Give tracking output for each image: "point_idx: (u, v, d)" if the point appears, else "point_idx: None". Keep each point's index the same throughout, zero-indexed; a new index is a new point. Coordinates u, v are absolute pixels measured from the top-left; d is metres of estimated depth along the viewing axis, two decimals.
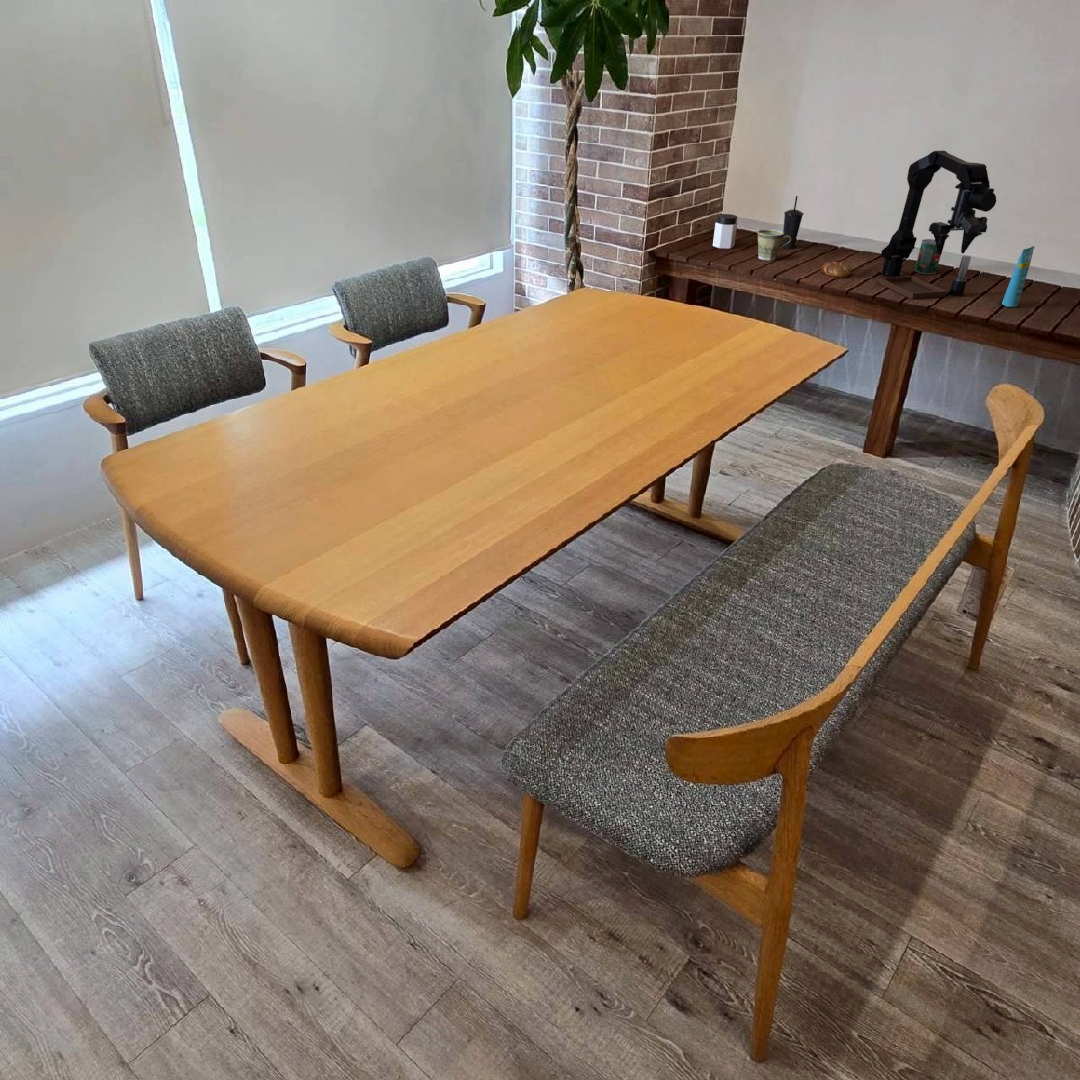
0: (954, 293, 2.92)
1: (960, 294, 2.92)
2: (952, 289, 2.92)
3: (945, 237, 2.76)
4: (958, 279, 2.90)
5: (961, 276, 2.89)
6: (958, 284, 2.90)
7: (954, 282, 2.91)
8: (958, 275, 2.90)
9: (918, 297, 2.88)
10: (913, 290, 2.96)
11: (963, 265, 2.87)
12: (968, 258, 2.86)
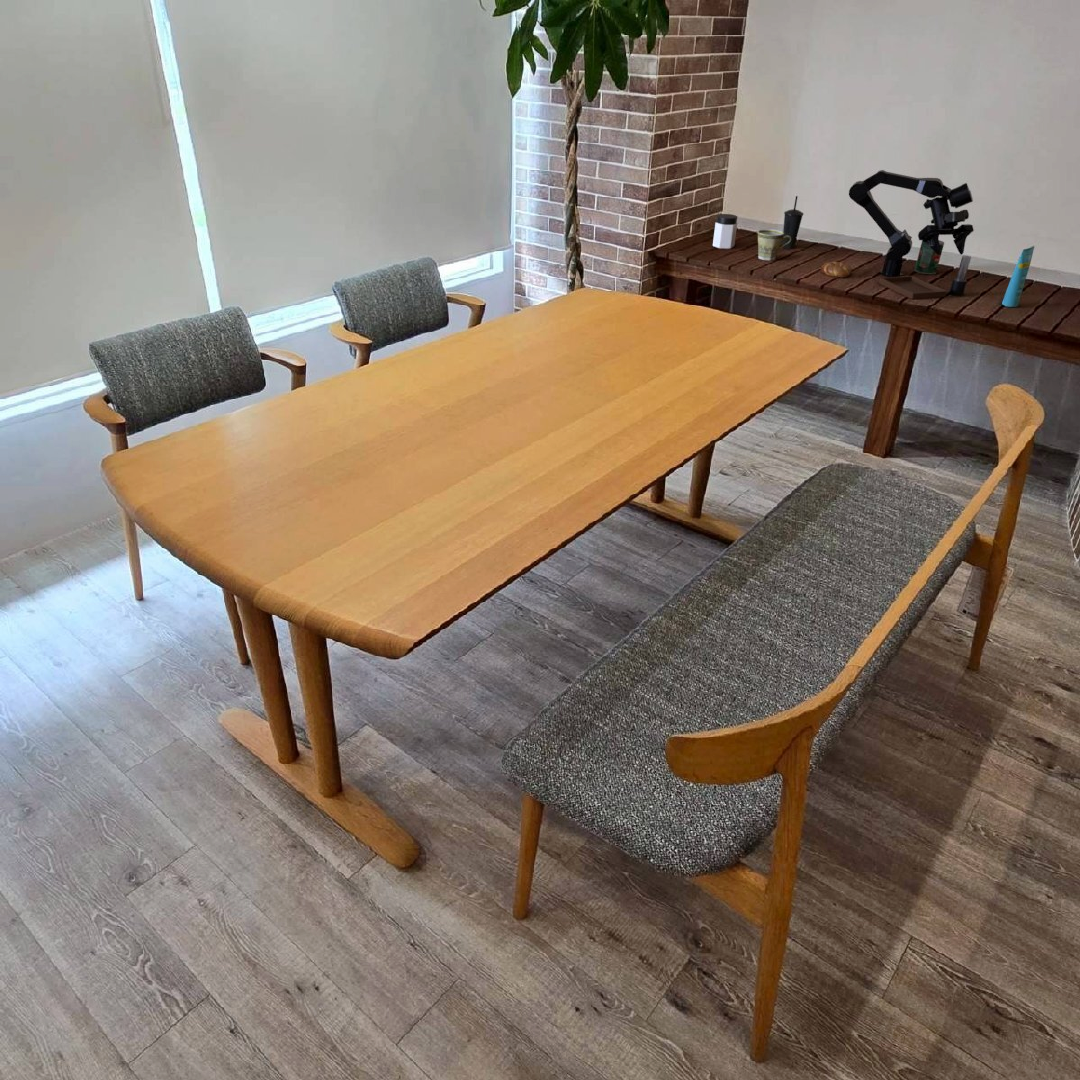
0: (954, 293, 2.92)
1: (960, 294, 2.92)
2: (952, 289, 2.92)
3: (936, 234, 2.90)
4: (958, 279, 2.90)
5: (961, 276, 2.89)
6: (958, 284, 2.90)
7: (954, 282, 2.91)
8: (958, 275, 2.90)
9: (918, 297, 2.88)
10: (913, 290, 2.96)
11: (963, 265, 2.87)
12: (968, 258, 2.86)
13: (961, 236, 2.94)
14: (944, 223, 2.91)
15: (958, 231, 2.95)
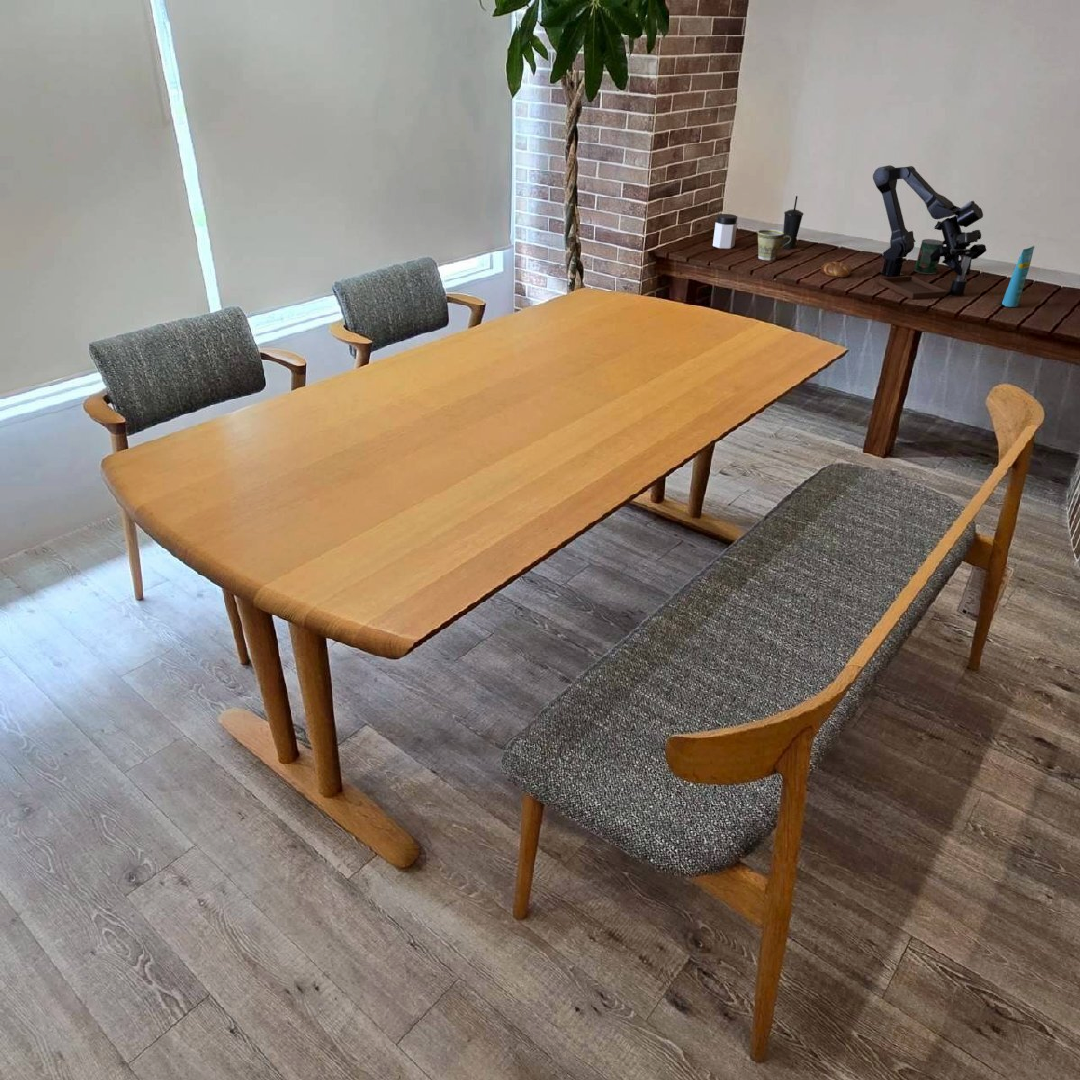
0: (954, 293, 2.92)
1: (960, 294, 2.92)
2: (952, 289, 2.92)
3: (957, 255, 2.87)
4: (958, 279, 2.90)
5: (961, 276, 2.89)
6: (958, 284, 2.90)
7: (954, 282, 2.91)
8: (958, 275, 2.90)
9: (918, 297, 2.88)
10: (913, 290, 2.96)
11: (963, 265, 2.87)
12: (968, 258, 2.86)
13: None
14: (956, 244, 2.87)
15: (963, 252, 2.90)
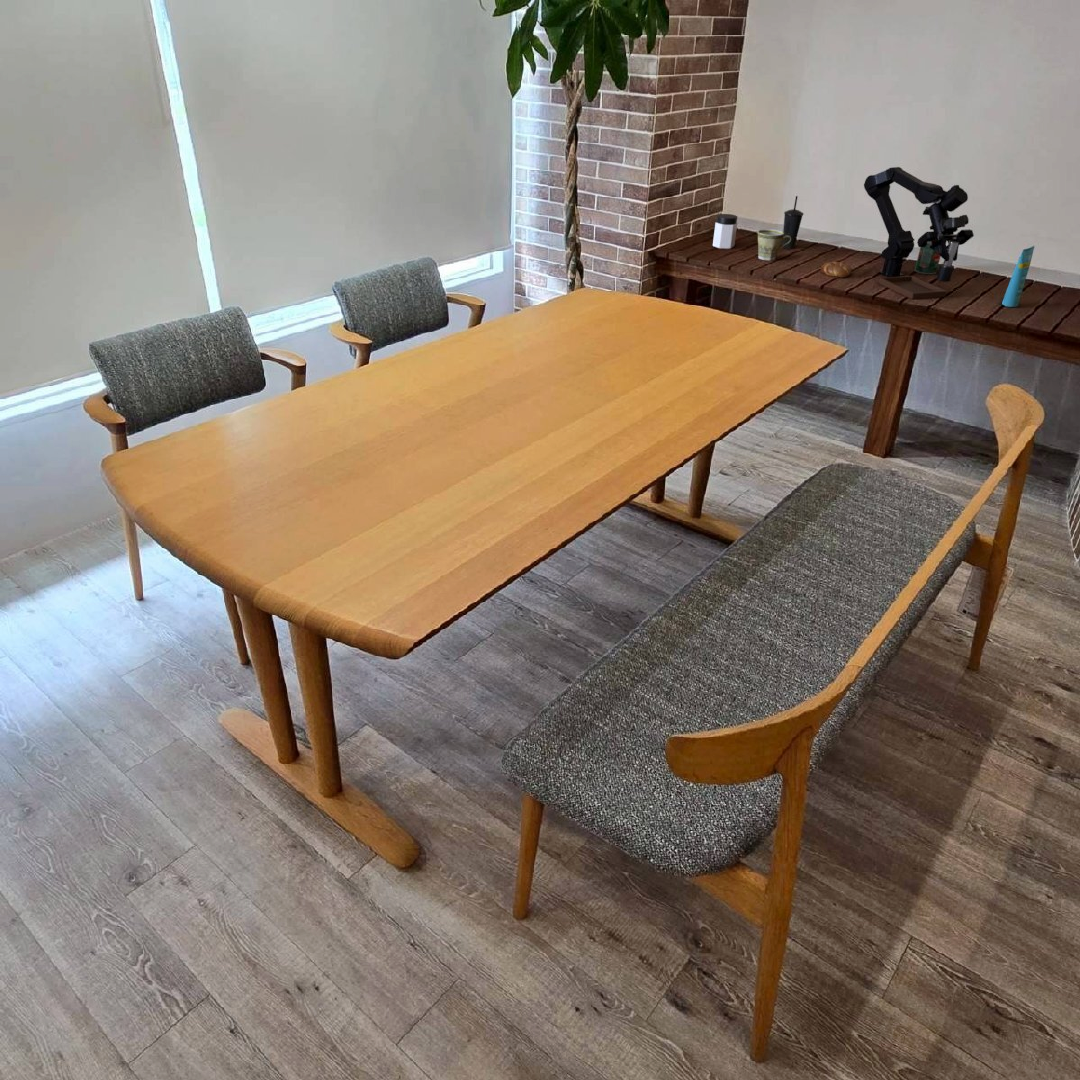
0: (941, 279, 2.90)
1: (947, 280, 2.90)
2: (939, 275, 2.90)
3: (944, 240, 2.85)
4: (945, 265, 2.88)
5: (948, 262, 2.87)
6: (945, 269, 2.88)
7: (941, 268, 2.89)
8: (945, 261, 2.88)
9: (918, 297, 2.88)
10: (913, 290, 2.96)
11: (950, 250, 2.85)
12: (955, 243, 2.84)
13: None
14: (944, 229, 2.85)
15: (950, 237, 2.88)
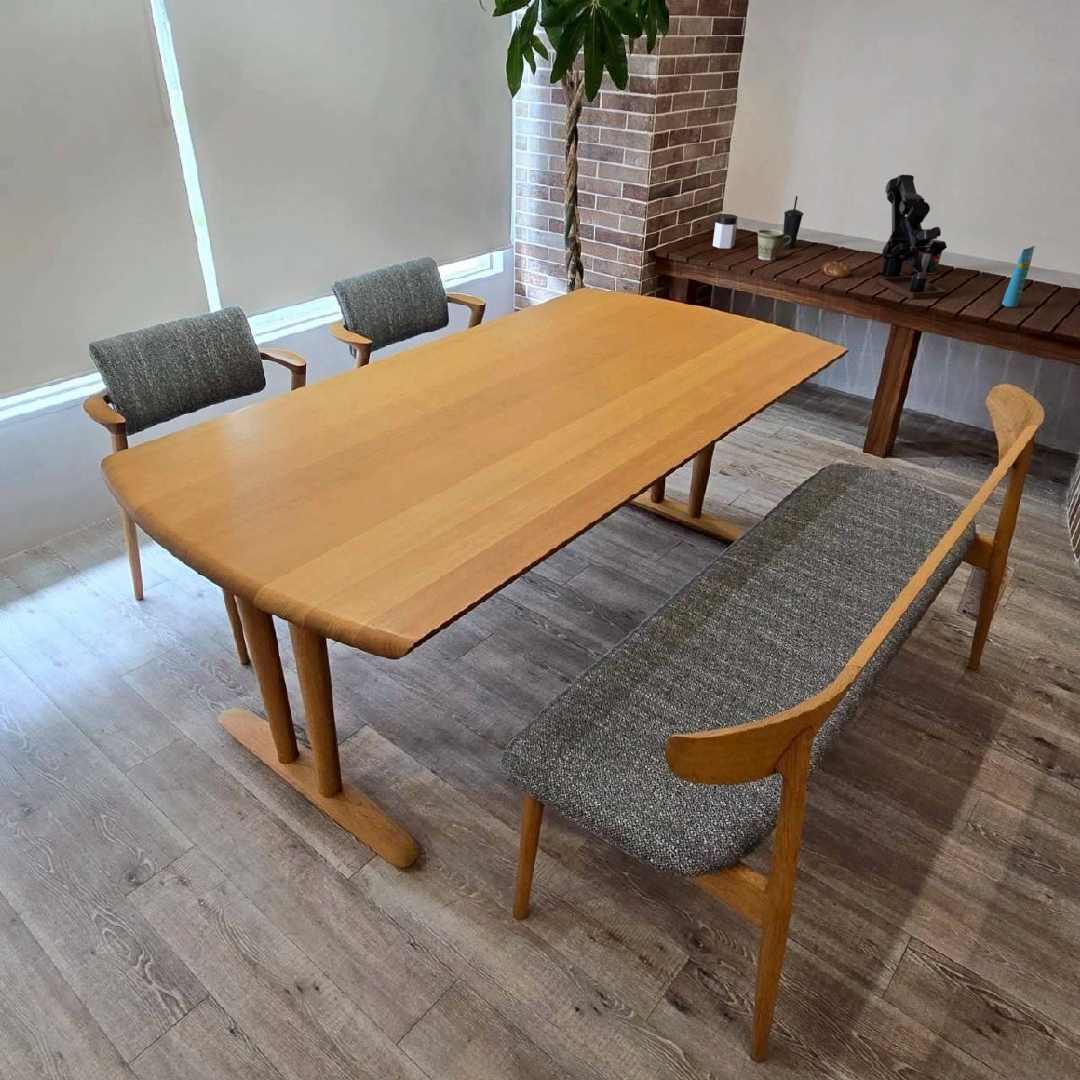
0: (914, 290, 2.93)
1: (920, 291, 2.93)
2: (913, 286, 2.93)
3: (916, 252, 2.88)
4: (918, 276, 2.91)
5: (921, 273, 2.90)
6: (918, 280, 2.91)
7: (914, 279, 2.92)
8: (918, 272, 2.91)
9: (918, 297, 2.88)
10: None
11: (923, 262, 2.88)
12: (928, 255, 2.87)
13: None
14: (916, 241, 2.88)
15: (924, 249, 2.91)
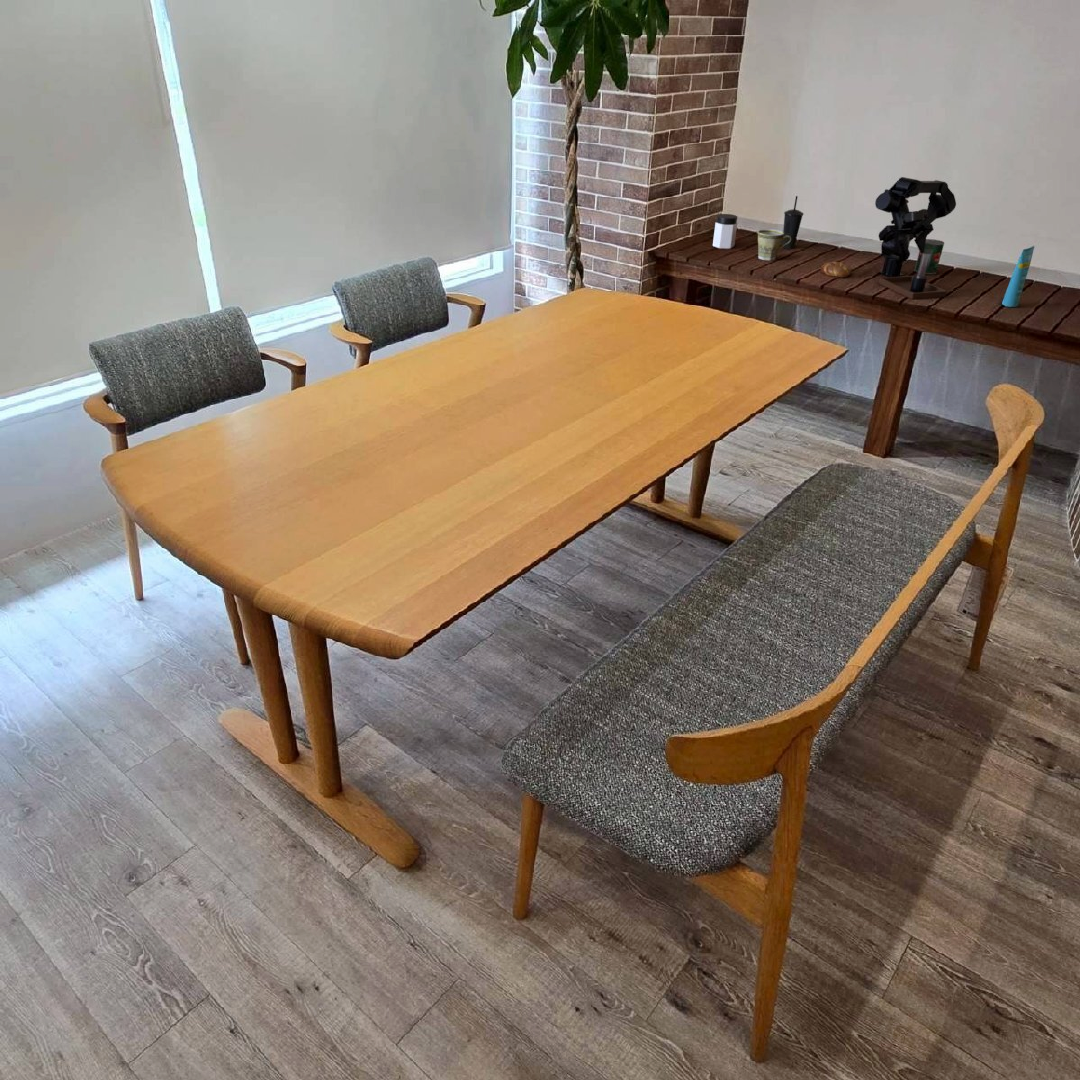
0: (914, 290, 2.93)
1: (920, 291, 2.93)
2: (913, 286, 2.93)
3: (896, 234, 2.92)
4: (918, 276, 2.91)
5: (921, 273, 2.90)
6: (918, 280, 2.91)
7: (914, 279, 2.92)
8: (918, 272, 2.91)
9: (918, 297, 2.88)
10: None
11: (923, 262, 2.88)
12: (928, 255, 2.87)
13: (921, 235, 2.96)
14: (904, 223, 2.93)
15: (918, 230, 2.97)
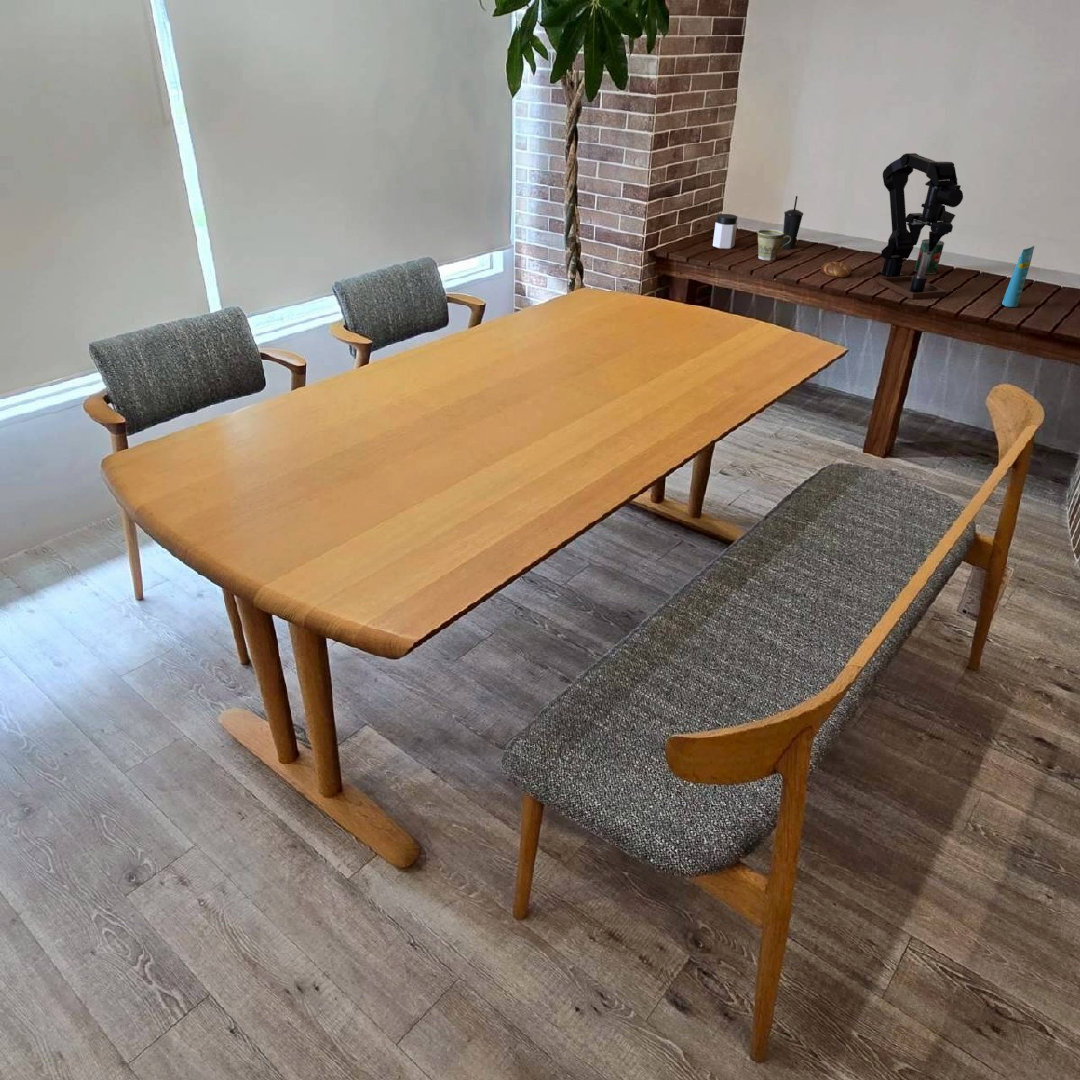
0: (914, 290, 2.93)
1: (920, 291, 2.93)
2: (913, 286, 2.93)
3: None
4: (918, 276, 2.91)
5: (921, 273, 2.90)
6: (918, 280, 2.91)
7: (914, 279, 2.92)
8: (918, 272, 2.91)
9: (918, 297, 2.88)
10: None
11: (923, 262, 2.88)
12: (928, 255, 2.87)
13: (921, 227, 2.96)
14: None
15: None
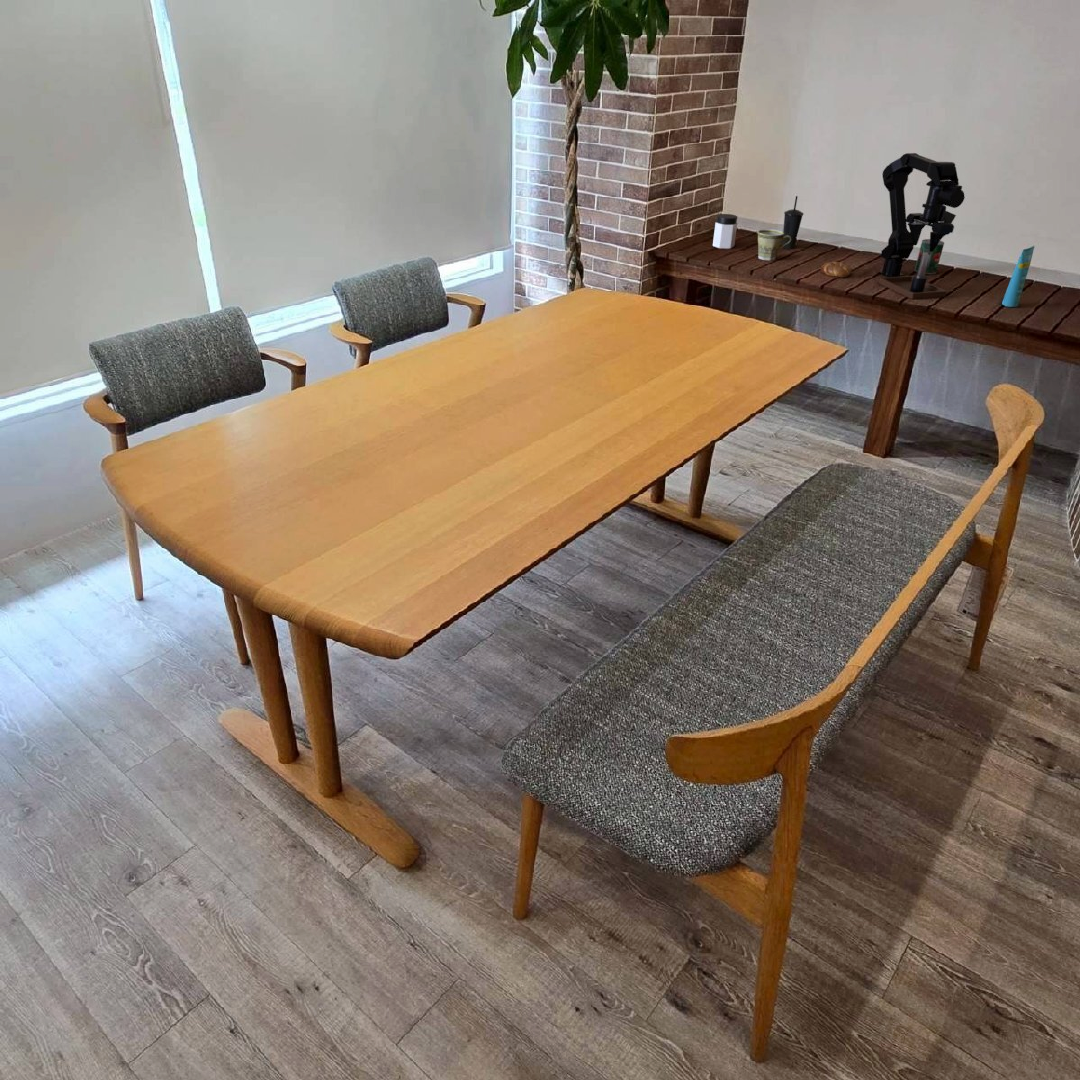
0: (914, 290, 2.93)
1: (920, 291, 2.93)
2: (913, 286, 2.93)
3: None
4: (918, 276, 2.91)
5: (921, 273, 2.90)
6: (918, 280, 2.91)
7: (914, 279, 2.92)
8: (918, 272, 2.91)
9: (918, 297, 2.88)
10: None
11: (923, 262, 2.88)
12: (928, 255, 2.87)
13: (921, 227, 2.96)
14: None
15: None
